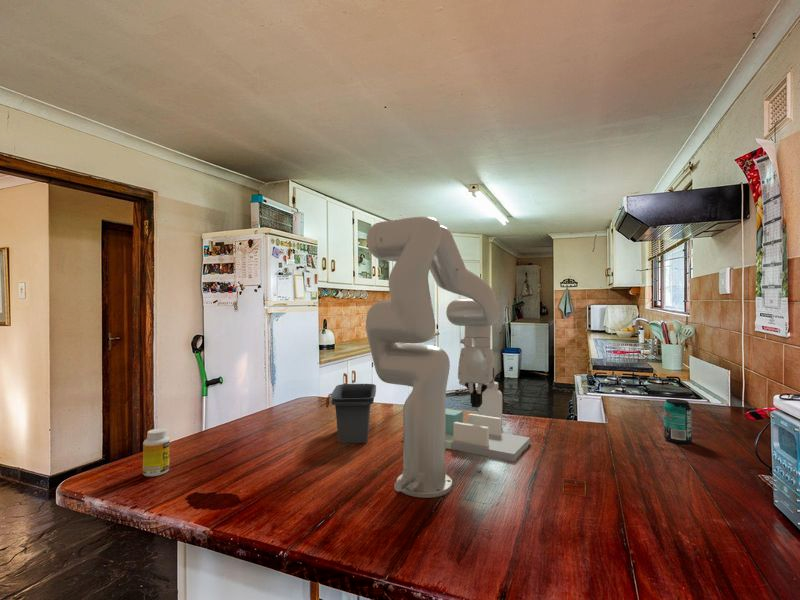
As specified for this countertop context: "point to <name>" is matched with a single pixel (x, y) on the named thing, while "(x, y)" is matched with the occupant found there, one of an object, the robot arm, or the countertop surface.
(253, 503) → the countertop surface
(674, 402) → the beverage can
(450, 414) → the teal block
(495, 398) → the pill bottle
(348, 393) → the storage bin
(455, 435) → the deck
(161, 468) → the supplement bottle
